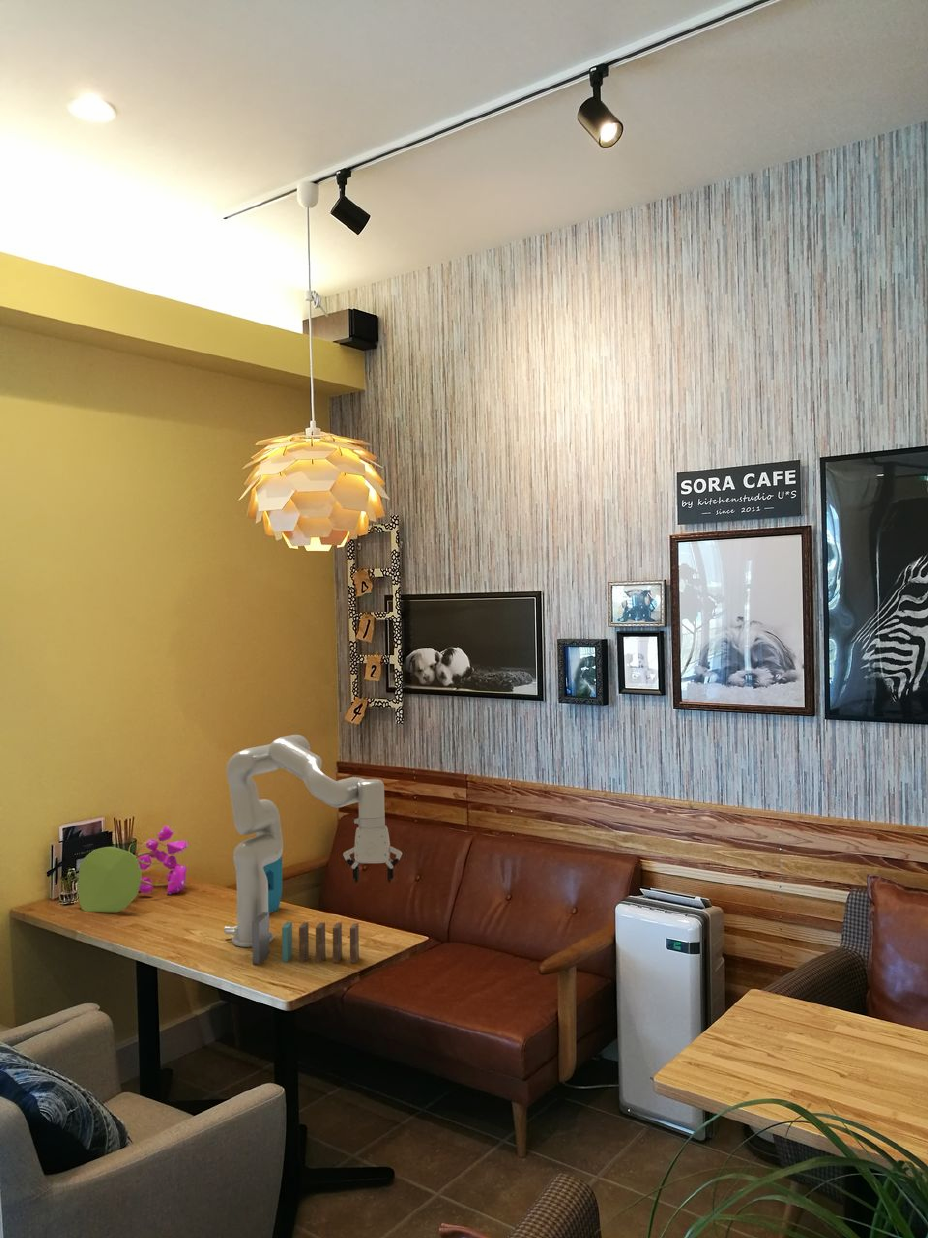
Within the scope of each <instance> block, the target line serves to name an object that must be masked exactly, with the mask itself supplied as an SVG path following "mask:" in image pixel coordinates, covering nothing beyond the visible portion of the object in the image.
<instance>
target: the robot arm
mask: <svg viewBox="0 0 928 1238" xmlns="http://www.w3.org/2000/svg"><path fill="white" fill-rule="evenodd" d="M322 764H323V761H322V758H321V757H320V756H319V755H318V754H316V753H314V752H313V751H311V745H310V743H309V741H308V739H307V738H306V737H304V736H303V735H300V734H291V735H285V736H281V737H278V738H276V739H274V740H273V741H272V742H271V743H268V744H264V745H259V746H254V747H248V748H245V749H242V750H240V751H237V752H236V753H235V754H233V755H232V756H231V757H230V758H229V760H228V761H227V764H226V771H225V772H226V773H225V774H226V779H227V783H228V788H229V793H230V794H229V795H230V801H231V802H230V803H231V811H232V819H233V825H234V828H235V830H236V832H237V833H238V834H239V835H242V836H247V835H253V834H255V833H256V836H252V837H250V838H247V839H244V840H243V841H241V842H240V843H238V844H237V845H236V846H235V848H234V849H233V854H232V860H233V865H234V870H235V871H234V872H235V882H236V925H234V926H224V929H223V932H224V934H225V935H226V936H227V935H229V936H230V935H232V936H233V937H232V938H231V943H232V944H233V945H234V946H237V947H242V948H243V947H244V948H253V932H252V923H253V922H254V921H255V919H256V918H257V917H258V916H259V915H260V914H261V913H262V912H268V881H267V877H266V874H265V872H264V870H263V867H264V866H266V865H268V864H271V863H273V862H275V861H277V860H278V859H279V858H280V857H281V855H282V856H283V851H284V839H283V831H282V824H281V816H280V811H279V808H278V807H277V805H276V804H275V803H274V802H273V801H272V800H270V799H265V798H263V799H262V798H261V799H260V795H259V789H258V785H257V782H256V781H255V780H254V778H253V777H254V776H256V775H260V774H261V775H262V774H265V773H269V772H274V771H277V770H280V769H283V770H286V771H287V772H289V773H290V774H292V775H294V776H296V777H297V778H299V779H300V780H302V781H303V782H304V785H305V787H306V788H307V789H308V791H309V793H311V795H312V796H313V797H315V798H316V799H318V800H319V801H322V803H325V804H326V805H329V806H330V807H334V808H342V807H345V806H349V805H352V804H356V803H358V818H354V819H353V823H354V824H357V825H358V827H356V829H355V834H354V835H355V836H354V846H353V847H352V848H350V849H348V850H346V851H344V852H343V854H342V856H343V857H344V859H345V861H346V864H348V866H350V869H352V880H354V883H355V884H357V883H358V882H359V881H360V867H359V864H384V863H385V864H386V866H387V867H388V868H387V883H391V882H392V880H393V879H394V878H395V877H394V867H396V865H397V864H398V863H399V861H400V859H401V858H402V855H403V852H402V850H400V849H397V848H395V847H393V846H391V843H390V842H391V841H390V834H389V829H388V826H387V825H386V819H385V818H386V817H385V813H386V811H385V784H384V782H383V781H382V780H381V779H375V778H374V779H373V778H372V779H366V778H362V777H359V776H358V777H357V776H351V777H347V778H343V779H339V780H335V779H333V778H331V777H330V776H328V775H326V774H324V773H323V771H321V768H322ZM391 853H392V854H394V855H396V856H395V858H394V859H393V860H392V859H391ZM350 855H354V857H353V858H354V860H353V859H352V858H351V856H350ZM273 941H274V933H272V932H270V931H269V944H270V943H271V942H273Z"/></svg>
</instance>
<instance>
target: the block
mask: <svg viewBox="0 0 928 1238" xmlns="http://www.w3.org/2000/svg"><path fill="white" fill-rule="evenodd" d="M263 870H264V872H265V874H266V877H267V881H268V912H269V914H271V913H273V912H274V913H275V912H277V911H279V910H280V905H281V900H282V894H283V854H282V855H281V857H280V858H279V859H278V860H277V861H275V862H273V863H271V864H268V865H266V866H264V867H263Z"/></svg>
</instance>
